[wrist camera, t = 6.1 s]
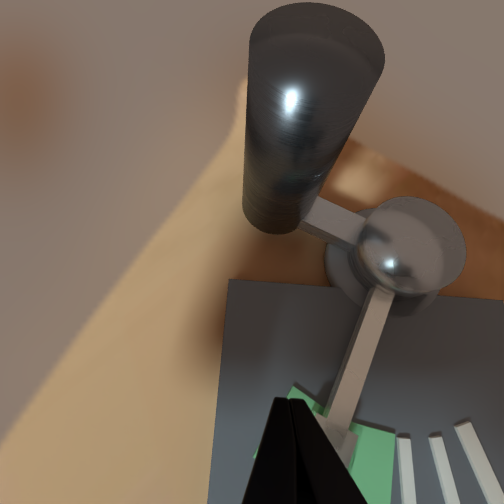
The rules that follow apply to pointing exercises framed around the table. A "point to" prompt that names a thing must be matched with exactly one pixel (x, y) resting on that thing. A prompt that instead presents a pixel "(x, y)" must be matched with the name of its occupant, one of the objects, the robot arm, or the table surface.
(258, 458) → the robot arm
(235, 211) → the table surface
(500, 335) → the gauge board
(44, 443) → the table surface
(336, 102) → the dial
